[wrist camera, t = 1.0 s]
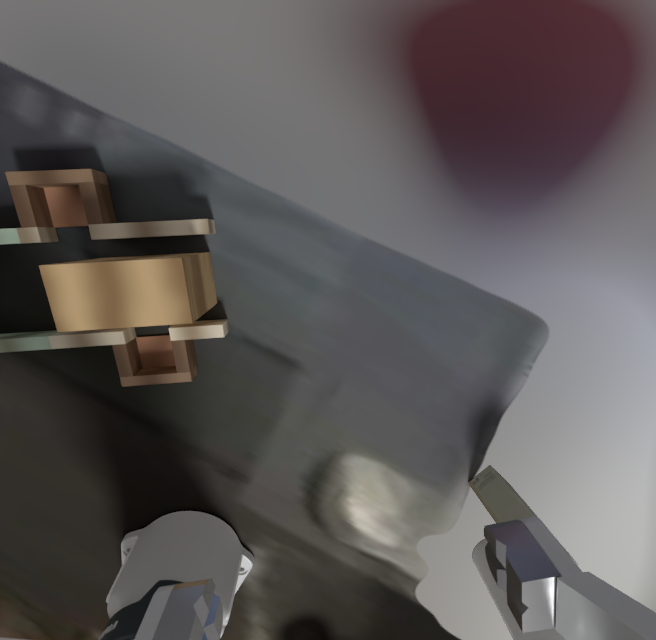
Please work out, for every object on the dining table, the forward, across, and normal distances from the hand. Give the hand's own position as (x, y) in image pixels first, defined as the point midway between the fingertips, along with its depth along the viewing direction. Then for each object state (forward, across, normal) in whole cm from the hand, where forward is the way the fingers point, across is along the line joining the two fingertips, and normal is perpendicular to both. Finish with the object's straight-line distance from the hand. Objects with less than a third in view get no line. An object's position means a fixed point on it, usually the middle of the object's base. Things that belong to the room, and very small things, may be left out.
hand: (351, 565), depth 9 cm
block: (+31, +18, -7) cm, 36 cm away
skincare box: (+32, -20, +32) cm, 49 cm away
